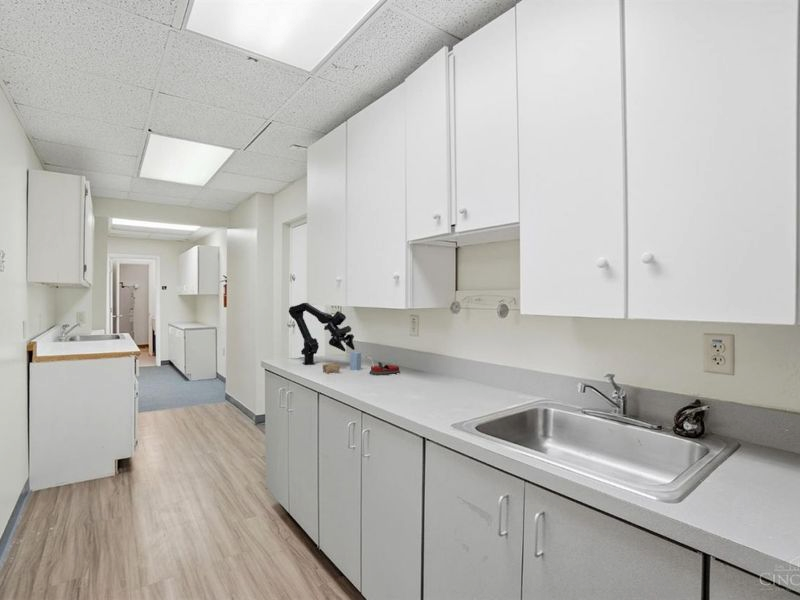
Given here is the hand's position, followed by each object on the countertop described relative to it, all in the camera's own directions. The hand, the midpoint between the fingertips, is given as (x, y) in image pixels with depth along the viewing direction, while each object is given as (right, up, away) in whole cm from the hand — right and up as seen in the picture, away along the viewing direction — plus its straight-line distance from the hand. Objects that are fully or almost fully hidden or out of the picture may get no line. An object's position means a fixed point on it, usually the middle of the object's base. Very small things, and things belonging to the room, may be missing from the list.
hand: (349, 350), depth 248 cm
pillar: (+4, -11, -2) cm, 12 cm away
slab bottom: (-9, -11, -13) cm, 19 cm away
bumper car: (+20, -12, -12) cm, 26 cm away
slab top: (-9, -9, -13) cm, 18 cm away
